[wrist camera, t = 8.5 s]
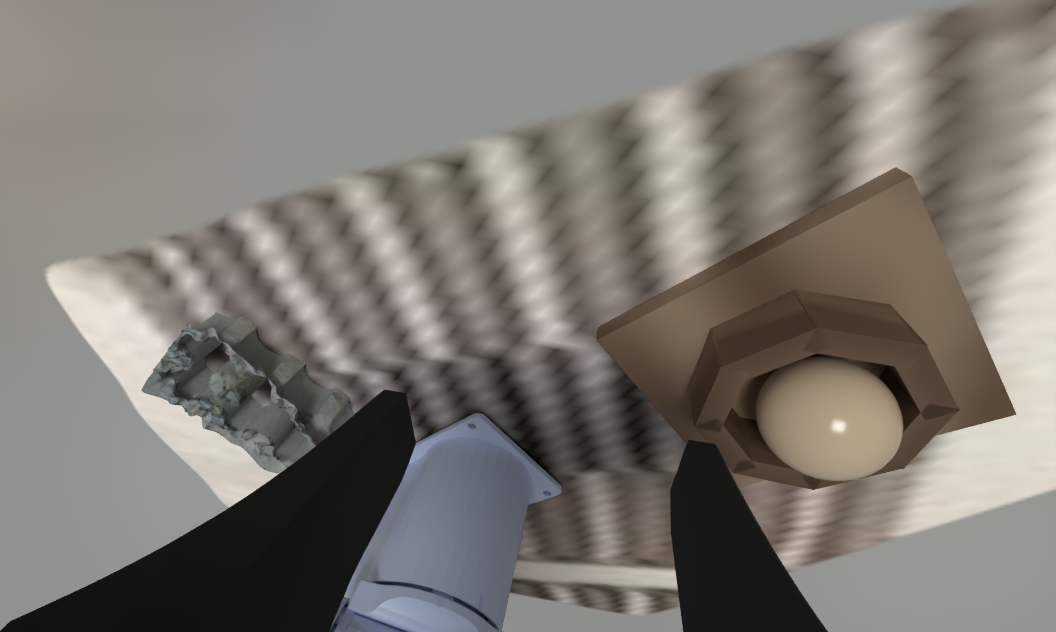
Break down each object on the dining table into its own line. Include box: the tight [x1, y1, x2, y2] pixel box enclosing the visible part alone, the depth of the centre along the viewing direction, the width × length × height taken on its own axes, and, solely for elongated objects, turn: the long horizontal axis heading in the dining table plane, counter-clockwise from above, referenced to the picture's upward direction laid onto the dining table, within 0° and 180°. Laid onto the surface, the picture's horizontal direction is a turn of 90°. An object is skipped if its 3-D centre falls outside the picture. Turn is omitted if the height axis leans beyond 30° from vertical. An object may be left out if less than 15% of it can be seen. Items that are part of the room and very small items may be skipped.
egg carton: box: [141, 312, 355, 473], centre depth 26 cm, size 11×8×4 cm
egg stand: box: [597, 168, 1016, 490], centre depth 18 cm, size 12×12×4 cm
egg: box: [755, 356, 903, 481], centre depth 16 cm, size 5×5×5 cm
